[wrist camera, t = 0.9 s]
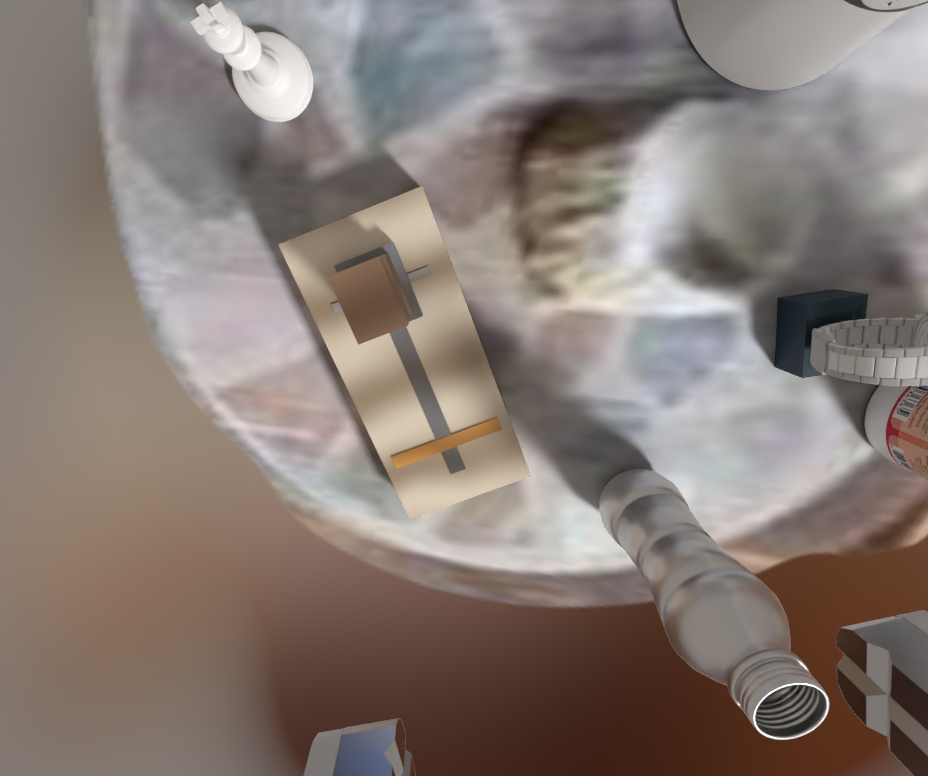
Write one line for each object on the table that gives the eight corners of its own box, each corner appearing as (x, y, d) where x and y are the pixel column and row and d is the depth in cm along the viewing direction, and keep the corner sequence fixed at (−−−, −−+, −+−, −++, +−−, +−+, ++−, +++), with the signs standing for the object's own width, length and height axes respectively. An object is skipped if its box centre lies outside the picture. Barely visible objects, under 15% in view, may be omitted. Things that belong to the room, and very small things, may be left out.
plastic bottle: (650, 534, 43) (818, 772, 24) (579, 515, 42) (696, 748, 23) (681, 471, 41) (890, 673, 22) (608, 450, 40) (760, 643, 21)
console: (291, 243, 34) (277, 244, 31) (423, 190, 34) (422, 185, 31) (412, 499, 41) (409, 520, 38) (524, 458, 40) (531, 476, 37)
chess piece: (328, 96, 32) (280, 37, 22) (265, 137, 32) (192, 95, 23) (283, 17, 30) (212, -82, 21) (218, 61, 31) (120, -17, 21)
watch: (852, 354, 39) (1005, 398, 28) (752, 370, 39) (869, 420, 28) (859, 284, 37) (1024, 303, 27) (755, 300, 37) (880, 326, 27)
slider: (336, 264, 32) (314, 271, 26) (393, 242, 31) (383, 243, 26) (368, 335, 33) (353, 356, 27) (422, 314, 33) (419, 330, 27)
